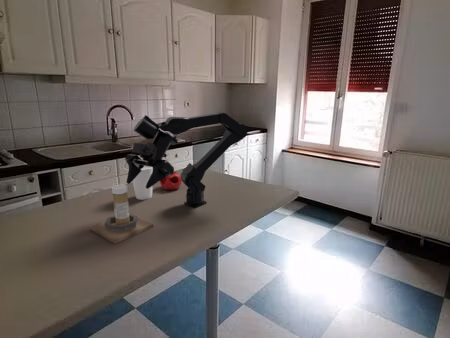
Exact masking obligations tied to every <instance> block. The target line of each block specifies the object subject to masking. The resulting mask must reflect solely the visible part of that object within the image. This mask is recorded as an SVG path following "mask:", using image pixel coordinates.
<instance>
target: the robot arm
mask: <svg viewBox="0 0 450 338" xmlns="http://www.w3.org/2000/svg"><path fill="white" fill-rule="evenodd" d="M218 124H220V125H221V126H222V127H224V129H225V130H224V132H223V134H222V137H221V138H220V139H219V140H218V141H217V142H216V143H215V144H214V145H213V147H211V148H210V149H209V150H208V151H207V152H206V153H205V155H204V156H202V158H200V159H199V160H198V161H197V162H196V163H194V164H192V163H190V162H189V163H188V164H187V165H186V167H184V168H182V170H181V171H182V172H181V173H180V176H181V180H182V182H181V183H183V184H184V185H185V186H186V187H187V189H186V194H185V195H186V196H185V198H186V201H184V202H183V203H184V205H187V206H190V207H193V208H199V207H200V206H202V205H205V204H207V201H206V200H205V199H204V192H205V189H206V185H205V184H204V183H203V182H202V180H203V178H204V176H205V173H206V171H207V170H208V169H209V168H211V166H212V165H214V163H216V162H217V161H218V159H219V158H221V156H222V155H223V154H225V152H226V151H228V149H229V148H230V147H231V146H233V145H235V144H238V143H239V142H241V141H242V140H244V139H245V138H246V137H247V136H248V128H247V126H246V125H245V124H243V123H239V122H238V121H237V120H235V119H234V118H233V117H231V116H230V115H228V114H227V113H226V112H225V111H223V112H222V111H218V112H216V113H214V112H213V113H209V114H203V115H196V116H191V117H189V116H188V117H186V116H185V117H184V116H170V117H167V118H166V120H165V121H162V122H158V123H156V122H155V121H154V120H152V119H151V118H150V116H148V115H146V114H145V115H143V117H142V118H141V119H140V120H139V121H138V122H137V123H136V125H135V126H134V128H133V132H135V133H136V134H138V135H139V136H141V137H142V138H144V139H145V140H146V141H149V140H153V141H152V142H147V143H146V144H143V143H138V142H134V143H133V146H132V150H131V153H130V154H126V156H125V158H124V161H125V163H126V164H127V166H128V173H127V178H126V184H128V185H130V184H131V183H133V180H134V179H135V178H136V176H137V175H138V174H139V173H140V172H141V171H142V170H141V169H142V168H143V167H144V166H148V167H153V172H152V174H151V176H150V178H149V180H148V182H147V184H146V188H147V189H149V188H150V187H151V186H153V187H154V185H156V184H157V183H158V182H159V183H160V180H162V179H163V178H165V177H168V175H171V176H172V174H173V172H175V167H174V165H172V164H171V162H169V161H168V160H166V159H163V158H166V157H167V156H168V155H167V150H168V149H169V147H170V145H172V146H174V145H177V144H178V143H179V141H178V138H177V135H180V134H183V133H185V132H187V131H190V130H192V129H196V128H200V127H202V128H203V127H206V126H212V125H218ZM168 132H169V133H168ZM171 134H172V135H175V136H172V135H171ZM138 154H139V155H138Z"/></svg>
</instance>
